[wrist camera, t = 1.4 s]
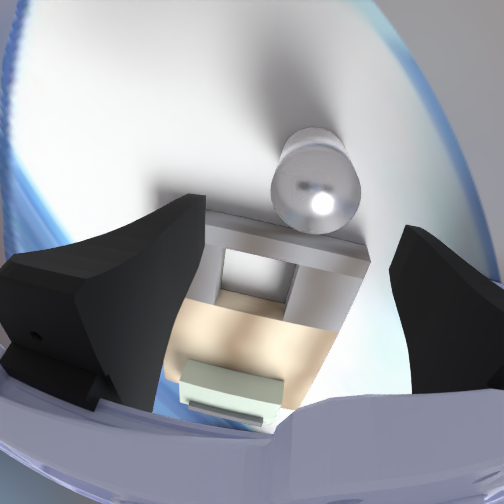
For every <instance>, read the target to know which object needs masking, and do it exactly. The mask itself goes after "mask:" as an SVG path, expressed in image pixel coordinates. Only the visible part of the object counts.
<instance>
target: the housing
mask: <svg viewBox="0 0 504 504" xmlns="http://www.w3.org/2000/svg"><path fill="white" fill-rule="evenodd" d="M170 203H171V202H170ZM226 248H227V249H232V250H236V251H241V252H245V253H250V254H254V255H259V256H263V257H267V258H272V259H276V260H281V261H285V262H290V263H294V264H296V268H295V271H294V274H293V278H292V281H291V285H290V288H289V292H288V295H287V298H286V302H285V304H284V303H279V302H275V301H270V300H266V299H261V298H257V297H253V296H248V295H244V294H240V293H235V292H231V291H227V290H223V289H221V281H222V273H223V265H224V257H225V250H226ZM370 263H371V261H370V257H369V253H368V249H367V246H365V245H361V244H357V243H353V242H348V241H344V240H340V239H336V238H332V237H328V236H323V235H319V234H308V233H304V232H300V231H298V230H296V229H293V228H289V227H284V226H280V225H275V224H271V223H266V222H262V221H257V220H253V219H248V218H243V217H239V216H234V215H229V214H225V213H220V212H215V211H210V210H206V209H205V247H204V250H203V254H202V258H201V261H200V264H199V267H198V270H197V272H196V274H195V277H194V279H193V281H192V283H191V285H190V288H189V290H188V292H187V294H186V297H185V299H184V301H183V303H182V306H181V308H180V310H179V312H178V315H177V317H176V320H175V323H174V326H173V329H172V332H171V336H170V339H169V343H168V346H167V350H166V354H165V357H164V371H165V379H167V380H170V381H173V382H176V383H179V380H180V377H181V375H182V372H183V370H184V367H185V365H186V362H187V360H188V359H191V360H194V361H198V362H202V363H205V364H209V365H213V366H217V367H221V368H225V369H229V370H233V371H237V372H242V373H246V374H250V375H255V376H260V377H264V378H269V379H274V380H279V381H284V382H285V383H284V390H283V398H282V405H281V407H280V408H286V409H291V410H297V409H298V408H299V406H300V404H301V403H302V401H303V399H304V397H305V396H306V394H307V392H308V390H309V388H310V387H311V385H312V383H313V381H314V379H315V378H316V376H317V374H318V372H319V370H320V368H321V366H322V364H323V363H324V361H325V359H326V357H327V355H328V353H329V351H330V349H331V347H332V345H333V343H334V341H335V339H336V337H337V335H338V333H339V331H340V329H341V327H342V325H343V323H344V321H345V319H346V317H347V314H348V312H349V310H350V308H351V306H352V304H353V301H354V299H355V297H356V295H357V293H358V290H359V288H360V286H361V284H362V281H363V279H364V277H365V274H366V272H367V270H368V267H369V265H370Z"/></svg>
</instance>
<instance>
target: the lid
mask: <svg viewBox="0 0 504 504" xmlns="http://www.w3.org/2000/svg"><path fill="white" fill-rule="evenodd" d="M284 383H285V382H284V381H279V380H274V379H269V378H264V377H260V376H255V375H250V374H246V373H242V372H237V371H233V370H229V369H225V368H221V367H217V366H213V365H209V364H205V363H202V362H198V361H194V360H191V359H188V360H187V362H186V365H185V367H184V370H183V372H182V375H181V377H180V380H179V390H180V402H181V403H185V404H188V409H190V410H193V411H197V412H200V413H204V414H208V415H212V416H216V417H220V418H224V419H228V420H232V421H237V422H241V423H246V424H250V425H255V426H260V427H261V426H262V424H263V423H268V424H272V423H273V421H274V419H275V417H276V415H277V413H278V411H279V409H280V407H281V405H282V398H283V390H284Z"/></svg>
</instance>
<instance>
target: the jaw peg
mask: <svg viewBox="0 0 504 504" xmlns="http://www.w3.org/2000/svg"><path fill="white" fill-rule="evenodd" d="M271 199H272V203H273V206H274V208H275V211H276V212H277V214H278V215H279V217H280V218H281V219H282V220H283V221H284V222H285V223H286V224H288V225H289V226H290V227H292V228H294V229H296V230H298V231H300V232H304V233H308V234H325V233H329V232H333V231H335V230H337V229H339V228H341V227H343V226H344V225H345V224H347V223H348V222H349V221H350V220H351V219H352V217H353V216H354V215H355V213H356V211H357V209H358V207H359V204H360V200H361V186H360V182H359V179H358V176H357V174H356V172H355V169H354V167H353V165H352V163H351V160H350V158H349V156H348V154H347V152H346V150H345V148H344V146H343V144H342V142H341V141H340V139H339V138H338V137H337V136H336V135H334V134H333V133H332V132H330V131H328V130H326V129H323V128H318V127H309V128H304V129H301V130H299V131H297V132H295V133H294V134H293V135H292V136H290V137H289V139H288V140H287V141H286V143H285V145H284V147H283V150H282V153H281V156H280V159H279V162H278V165H277V168H276V171H275V174H274V177H273V180H272V183H271Z"/></svg>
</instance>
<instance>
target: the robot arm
mask: <svg viewBox="0 0 504 504" xmlns="http://www.w3.org/2000/svg"><path fill="white" fill-rule="evenodd" d="M205 206H206V195H196V194H187V195H184V196H182V197H180V198H178V199H176V200H174V201H173V202H171V203H169V204H167V205H165V206H163V207H162V208H160V209H158V210H156V211H154V212H152V213H150V214H148V215H146V216H144V217H142V218H140V219H138V220H136V221H134V222H132V223H130V224H128V225H126V226H123V227H121V228H118V229H116V230H113V231H111V232H108V233H106V234H103V235H100V236H96V237H93V238H90V239H87V240H84V241H81V242H77V243H73V244H69V245H65V246H61V247H56V248H51V249H46V250H40V251H33V252H26V253H19V254H14V255H12V257H11V258H10V259H9V260H8V261H7V262H6V263H5V264H4V265H3V266H2V267H1V268H0V323H1V325H2V326H3V328H4V330H5V332H6V333H7V335H8V337H9V338H10V340H11V344H10V345H9V347H8V349H7V350H6V349H5V348H4V347H3V346H2V345H1V344H0V450H2V451H4V452H5V453H7V454H8V455H10V456H11V457H13V458H14V459H16V460H18V461H19V462H21V463H23V464H24V465H26V466H28V467H29V468H31V469H33V470H34V471H36V472H38V473H40V474H42V475H43V476H45V477H47V478H49V479H51V480H53V481H55V482H57V483H59V484H61V485H63V486H65V487H67V488H69V489H71V490H73V491H75V492H77V493H79V494H82V495H84V496H86V497H88V498H91V499H93V500H95V501H98V502H100V503H103V504H504V284H502V283H498V282H495V281H491V280H489V279H488V278H487V277H485V276H484V275H482V274H481V273H480V272H478V271H477V270H476V269H475V268H473V267H472V266H471V265H469V264H468V263H467V262H466V261H464V260H463V259H462V258H461V257H459V256H458V255H457V254H456V253H455V252H453V251H452V250H451V249H450V248H448V247H447V246H446V245H445V244H443V243H442V242H441V241H440V240H438V239H437V238H436V237H434V236H433V235H432V234H430V233H429V232H427V231H426V230H424V229H422V228H420V227H416V226H410V225H405V228H404V231H403V233H402V236H401V239H400V242H399V244H398V247H397V250H396V252H395V255H394V258H393V260H392V263H391V265H390V268H389V275H390V282H391V288H392V293H393V297H394V300H395V303H396V307H397V310H398V314H399V317H400V321H401V324H402V328H403V331H404V335H405V338H406V343H407V347H408V353H409V361H410V370H411V383H412V394H401V395H373V394H366V395H357V396H347V397H335V398H329V399H326V400H323V401H320V402H317V403H313V404H310V405H307V406H304V407H301V408H298V409H297V410H296V411H294V412H293V413H292V414H291V415H289V416H288V417H287V418H286V419H285V420H284V421H283V422H281V423H280V424H279V425H278V426H277V427H276V430H275V432H274V434H266V433H257V432H249V431H241V430H234V429H228V428H221V427H215V426H210V425H204V424H199V423H194V422H189V421H184V420H179V419H175V418H170V417H166V416H162V415H158V414H154V413H152V411H153V406H154V400H155V395H156V391H157V386H158V382H159V377H160V373H161V369H162V365H163V361H164V357H165V354H166V350H167V346H168V343H169V339H170V336H171V332H172V329H173V326H174V323H175V320H176V317H177V315H178V312H179V310H180V308H181V306H182V303H183V301H184V299H185V297H186V294H187V292H188V290H189V288H190V285H191V283H192V281H193V279H194V277H195V274H196V272H197V270H198V267H199V264H200V261H201V258H202V254H203V250H204V247H205Z"/></svg>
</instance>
